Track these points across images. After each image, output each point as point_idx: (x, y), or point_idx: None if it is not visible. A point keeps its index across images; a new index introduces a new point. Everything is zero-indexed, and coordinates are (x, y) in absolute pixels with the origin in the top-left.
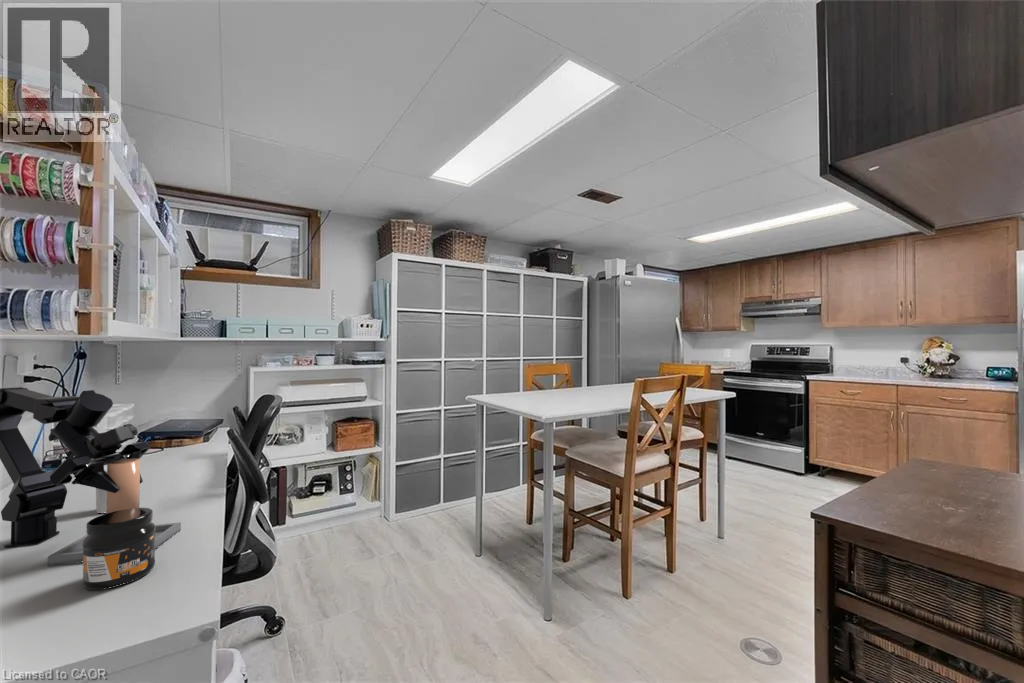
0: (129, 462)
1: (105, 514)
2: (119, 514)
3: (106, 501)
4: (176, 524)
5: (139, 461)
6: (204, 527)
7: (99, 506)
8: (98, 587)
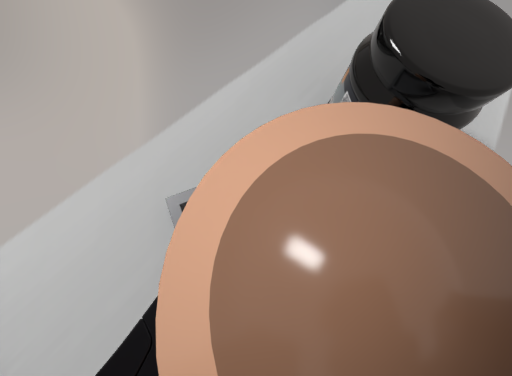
0: (399, 140)
1: (471, 83)
2: (453, 46)
3: None
4: (180, 196)
5: (261, 136)
6: (153, 161)
7: None
8: None
